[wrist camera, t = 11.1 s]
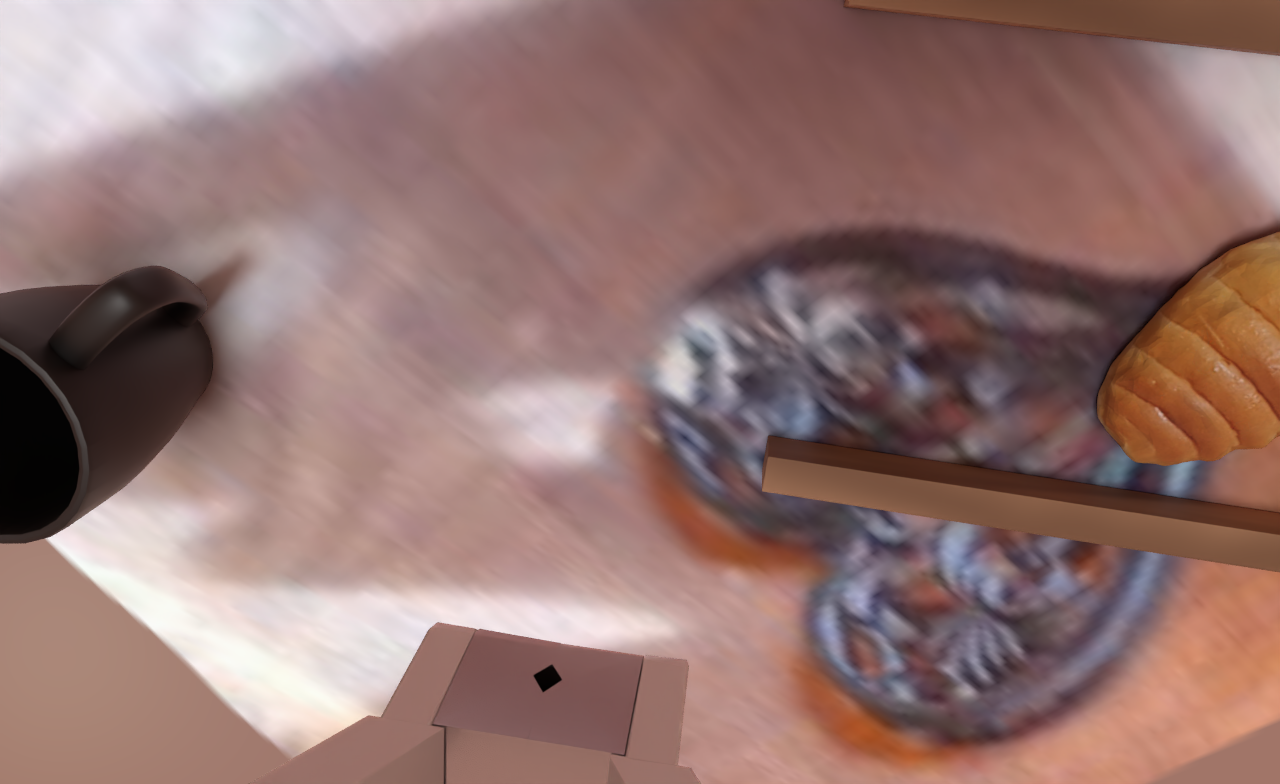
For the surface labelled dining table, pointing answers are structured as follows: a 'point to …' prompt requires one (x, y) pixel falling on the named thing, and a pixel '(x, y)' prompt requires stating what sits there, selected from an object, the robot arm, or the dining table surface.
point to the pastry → (1203, 365)
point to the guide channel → (1089, 4)
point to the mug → (92, 391)
